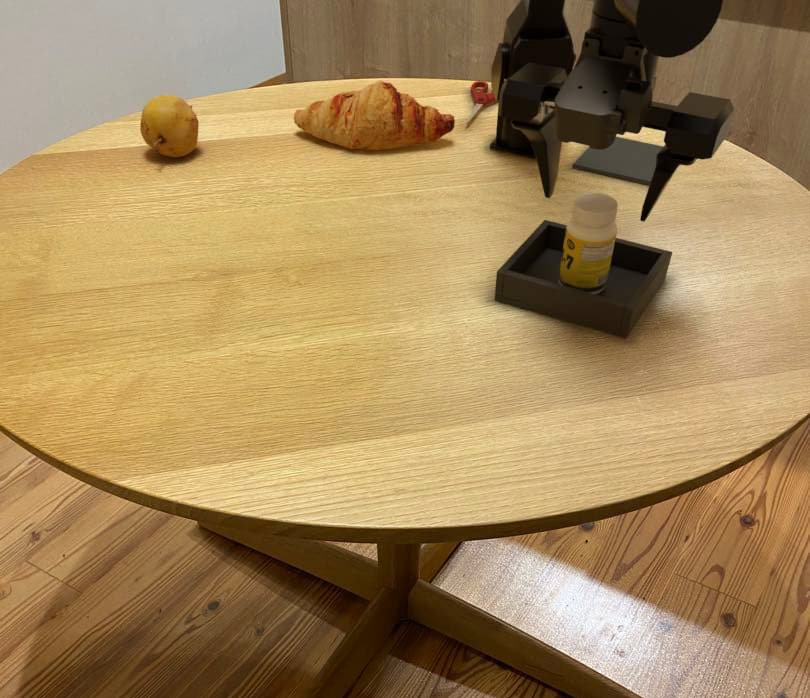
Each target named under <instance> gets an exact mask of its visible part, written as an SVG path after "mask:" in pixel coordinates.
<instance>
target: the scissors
mask: <svg viewBox="0 0 810 698" xmlns="http://www.w3.org/2000/svg"><path fill="white" fill-rule="evenodd" d="M479 88H480V89H481V90H479V91H477V90H476V89H479ZM488 90H489V83H488V82H486V81H481V80H478V81H477V80H476V81H474V82H473V83H472V84H471V86H470V94H471V97H472V99H473V101H474V106H473V109H472V110H471V112H470V114H469V115H468V117H467V118H466V121H465V125H468V124H469V123H470V122H471V120H472V119H473V118H474V117H475V116H476V114H478V112H479V110H481V108H485V107H487V106H488V105H491V104H493V103H495V102H497V101H496V98H495V96H494V93H493V90H492V89H491V91H490V92H489V93H487V92H488Z"/></svg>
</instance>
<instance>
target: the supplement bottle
mask: <svg viewBox="0 0 810 698" xmlns="http://www.w3.org/2000/svg"><path fill="white" fill-rule="evenodd" d="M618 207H619V204H618V201H617V199H615V198H614V197H613V196H611V195H609V194H606V193H602V192H585V193H581V194H578V195H577V196H576V197H575V198H574V201H573V205H572V208H571V209H572V210H571V216H570V218H568V220H567V222H566V224H565V225H566V232H565V238H564V245H563V251H562V258H561V265H560V271H559V279H558V281H559V284H560V285H563V286H566V287H570V288H574V289H577V290H581V291H584V292H588V293H591V294H598V293H600V292H601V291H603V290H604V288H605V286H606V283H607V278H608V273H609V268H610V263H611V258H612V254H613V248H614V243H615V238H617V234H618V226H617V222H616V219H617V214H618Z"/></svg>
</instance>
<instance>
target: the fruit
mask: <svg viewBox="0 0 810 698" xmlns="http://www.w3.org/2000/svg"><path fill="white" fill-rule="evenodd" d="M197 116H198V114H196V113H195V112H194V110H193V104H191V105H189V104H188V103H187V102H186V101H185V100H184V99H182V98H180V97H179V96H176V95H175V96H174V95H169V94H167V95H165V94H164V95H158V96H156V97H153V98H151V99H150V100H149V101H147V102H146V103H145V105H143V109H142V112H141V118H140V126H139V129H140V135H141V136H142V138H143V140H144V143H146V145H148V146H149V147H150V148H152V149H153V150H154V151H155V152H157V153H159V154H161V155H162V156H165V157H170V158H181V157H184V156H187V155H189V154H190V153H191V152H192V151H194V150H195V149H196V148H197V145H198V138H199V119H198V117H197Z"/></svg>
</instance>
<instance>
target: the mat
mask: <svg viewBox="0 0 810 698" xmlns="http://www.w3.org/2000/svg"><path fill="white" fill-rule="evenodd" d="M663 147H664V145H663V146H662V145H658V144H654V143H648V142H643V141H639V140H634V139H629V138H624V137H619V136H616V138H615V140H614V142H613V144H612V145H611V146H610V147H608V148H606V149H602V150H597V149H592V148H591V147H590V146H588V148H586V150H585V151H584V152H583V153H582V154H581V155H580V156H578V158H576V160H575V161H574V162H573V163H572V169H576V170H580V171H585V172H590V173H593V174H597V175H598V174H599V175H603V176H607V177H611V178H614V179H615V178H616V179H620V180H625V181H628V182H634V183H638V184H643V185H647V186H650V183H651V180H652V177H653V174H654V171H655V167H656V157H657V154H658V153H659V152H660V150H661V149H662V148H663Z"/></svg>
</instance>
